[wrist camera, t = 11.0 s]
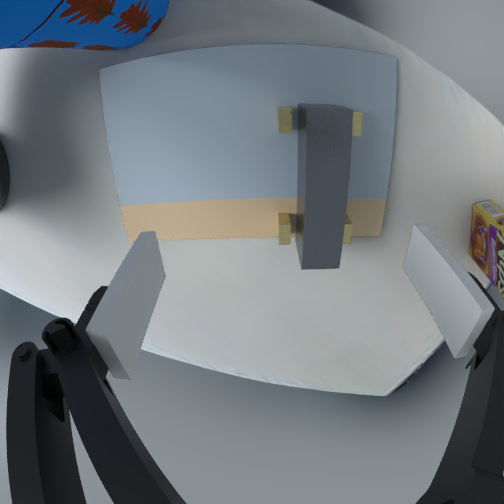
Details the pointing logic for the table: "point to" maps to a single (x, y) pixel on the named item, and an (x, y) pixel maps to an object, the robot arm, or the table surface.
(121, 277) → the robot arm
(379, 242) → the table surface
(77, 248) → the table surface
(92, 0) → the red-spotted blue pillar
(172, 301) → the table surface
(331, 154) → the bar
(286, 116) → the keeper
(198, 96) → the door board
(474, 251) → the candy box
